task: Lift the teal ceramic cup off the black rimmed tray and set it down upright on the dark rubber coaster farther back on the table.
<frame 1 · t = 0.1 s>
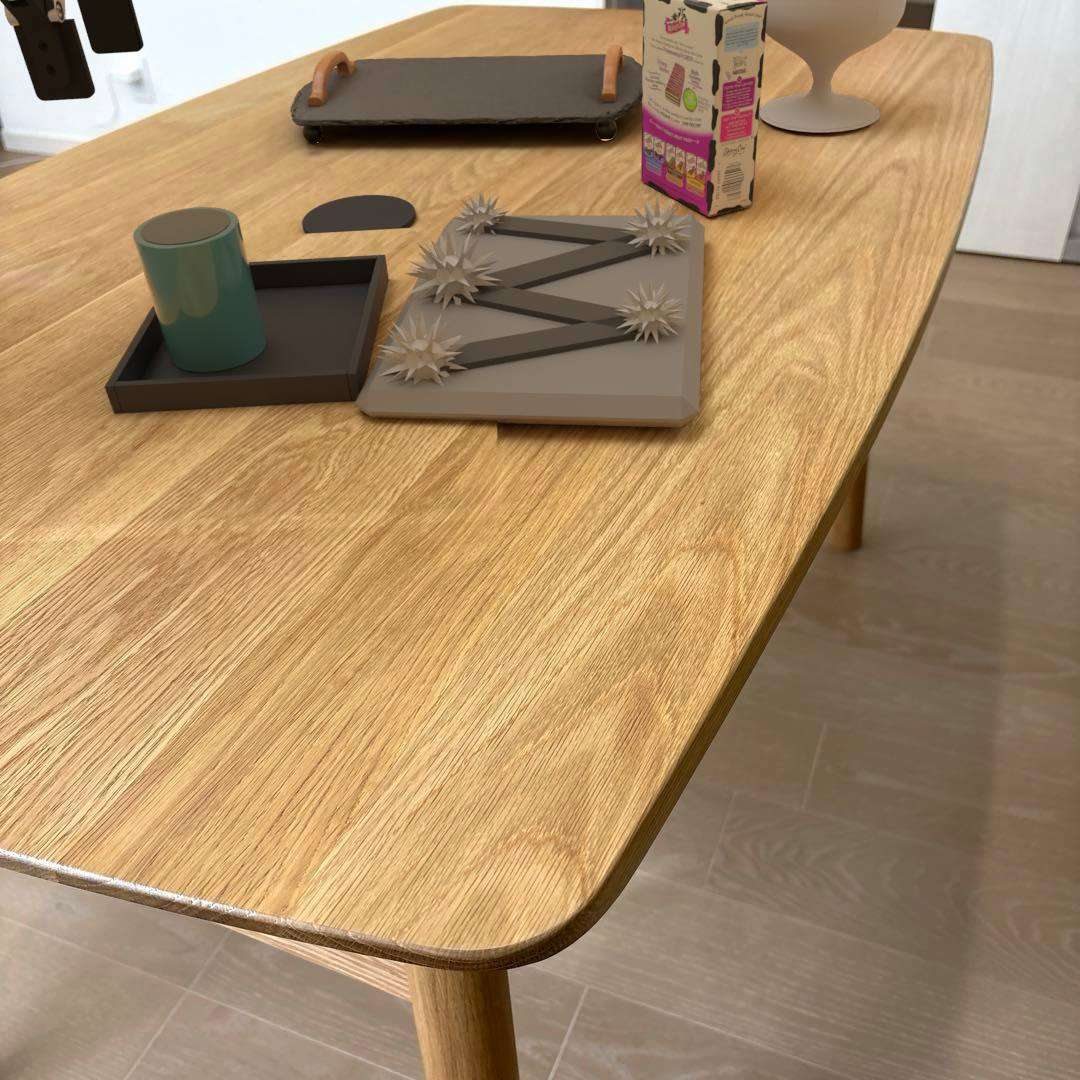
hand: (94, 73, 64), 20 cm above the table, tool pointing down, fingers open, 9 cm apart
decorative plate: (552, 325, 78), on the table
chalice: (818, 118, 110), on the table
tray: (266, 349, 77), on the table
candy bar box: (695, 195, 96), on the table
coaster: (359, 221, 95), on the table
cup: (218, 348, 76), point 1 cm above the table, touching tray
serving tray: (473, 114, 117), on the table
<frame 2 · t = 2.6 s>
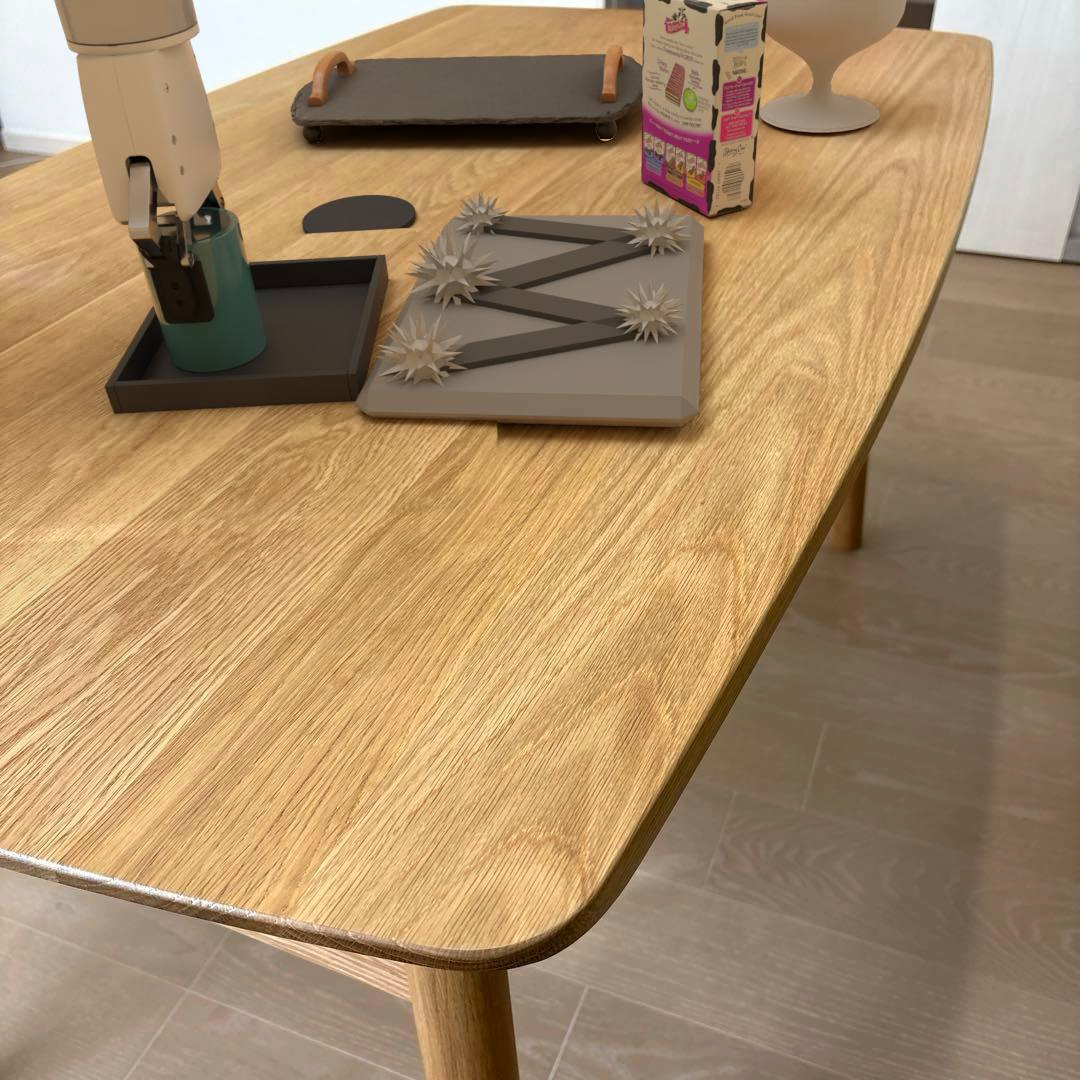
hand: (204, 293, 73), 5 cm above the table, tool pointing down, fingers closed on cup, 6 cm apart
cup: (218, 348, 76), point 1 cm above the table, touching gripper, tray
everything else where it was.
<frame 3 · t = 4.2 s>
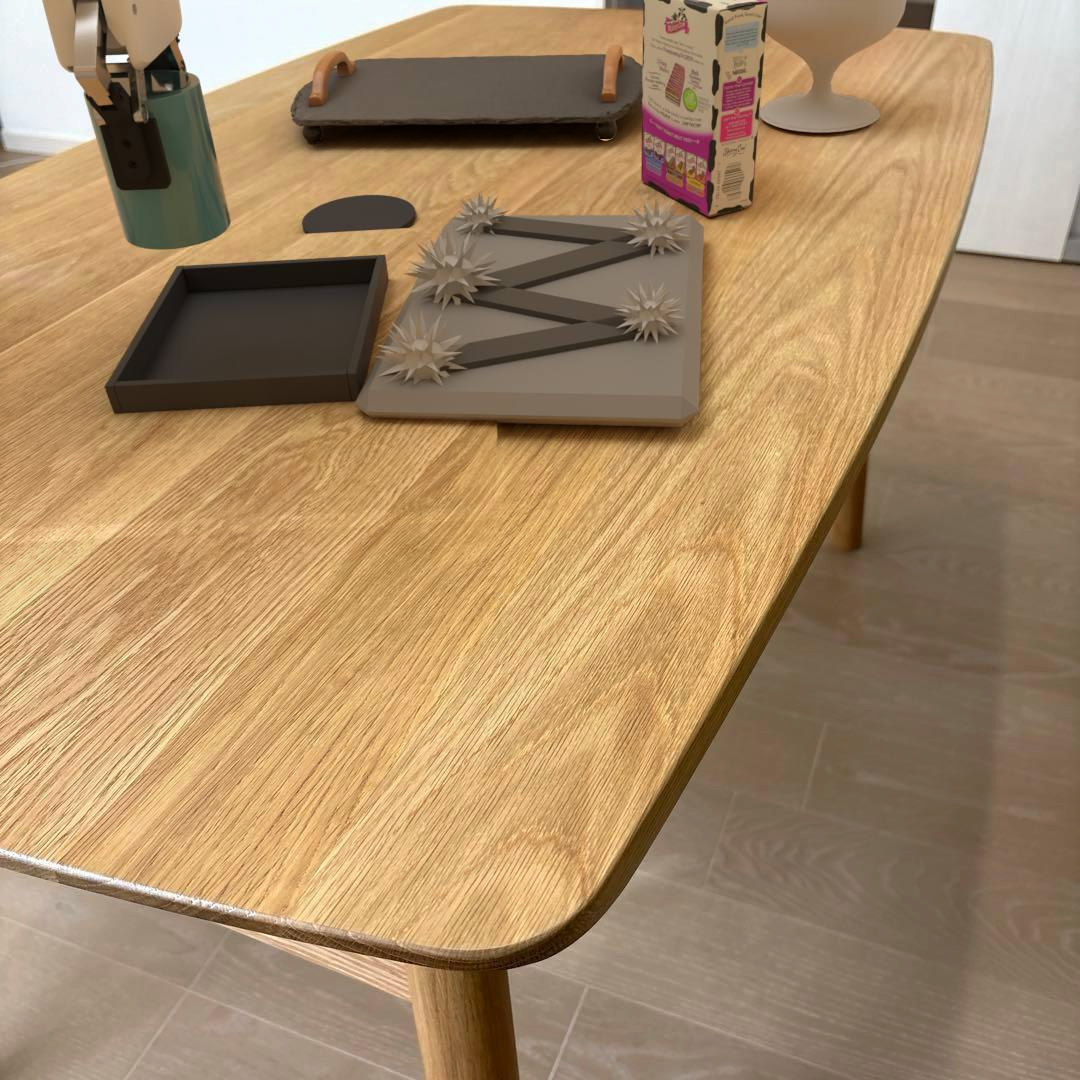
hand: (161, 163, 67), 14 cm above the table, tool pointing down, fingers closed on cup, 6 cm apart
cup: (178, 228, 70), point 10 cm above the table, touching gripper
everything else where it was.
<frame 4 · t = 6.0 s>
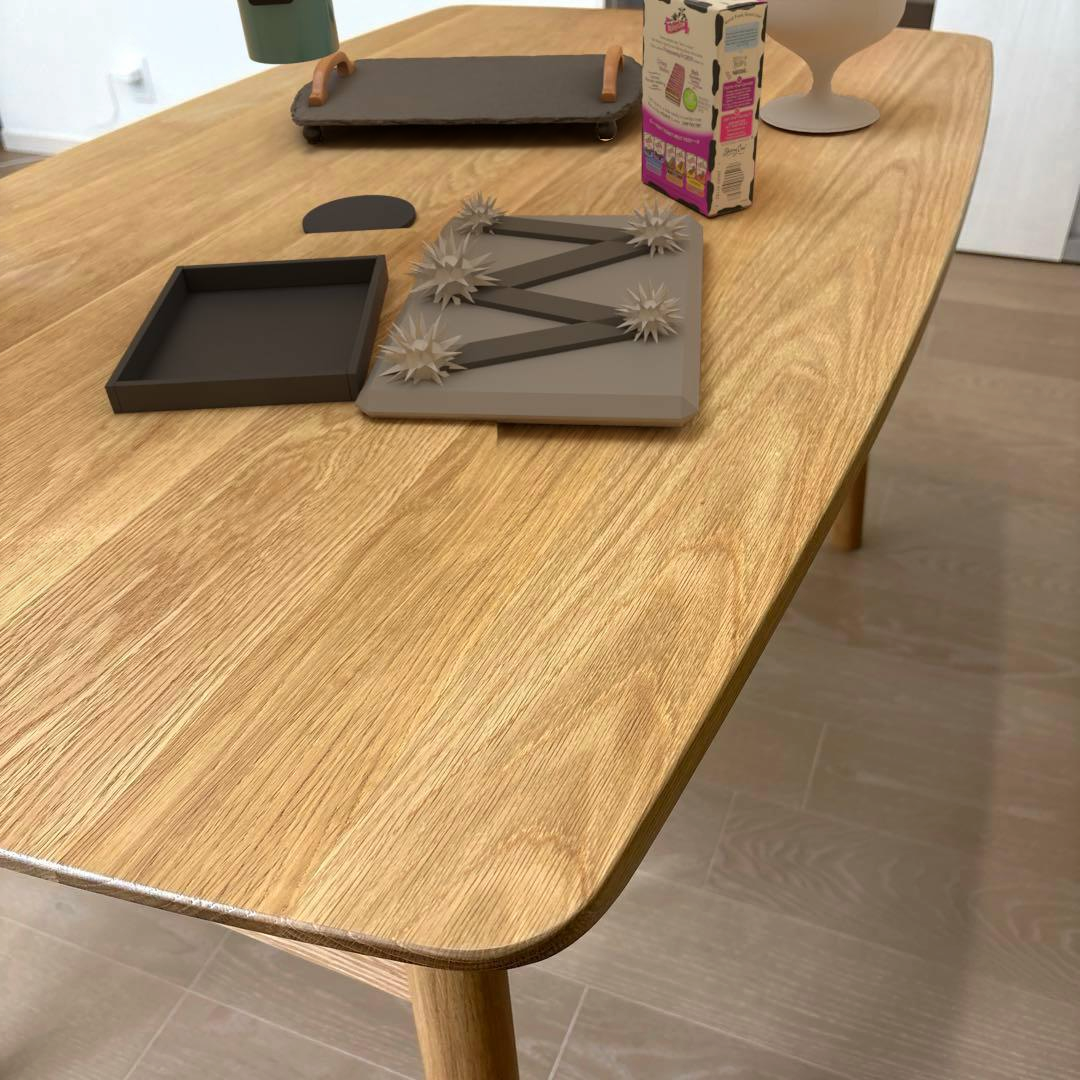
cup: (294, 51, 80), point 16 cm above the table, touching gripper
everything else where it was.
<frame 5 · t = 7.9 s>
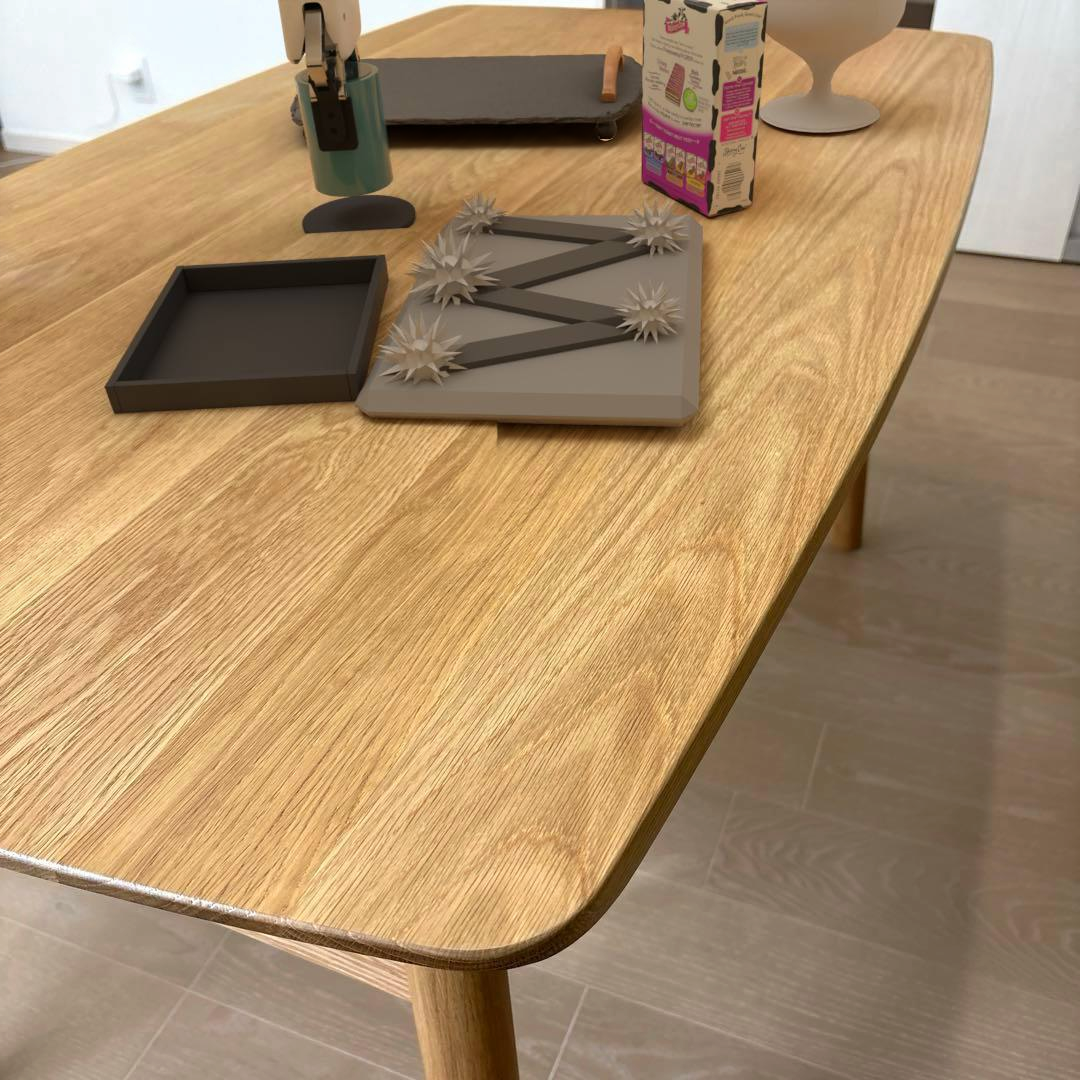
hand: (345, 132, 90), 8 cm above the table, tool pointing down, fingers closed on cup, 6 cm apart
cup: (354, 182, 93), point 3 cm above the table, touching gripper
everything else where it was.
when the fingers open (5 cm above the table, at t = 9.4 s): cup stays where it is, resting on coaster.
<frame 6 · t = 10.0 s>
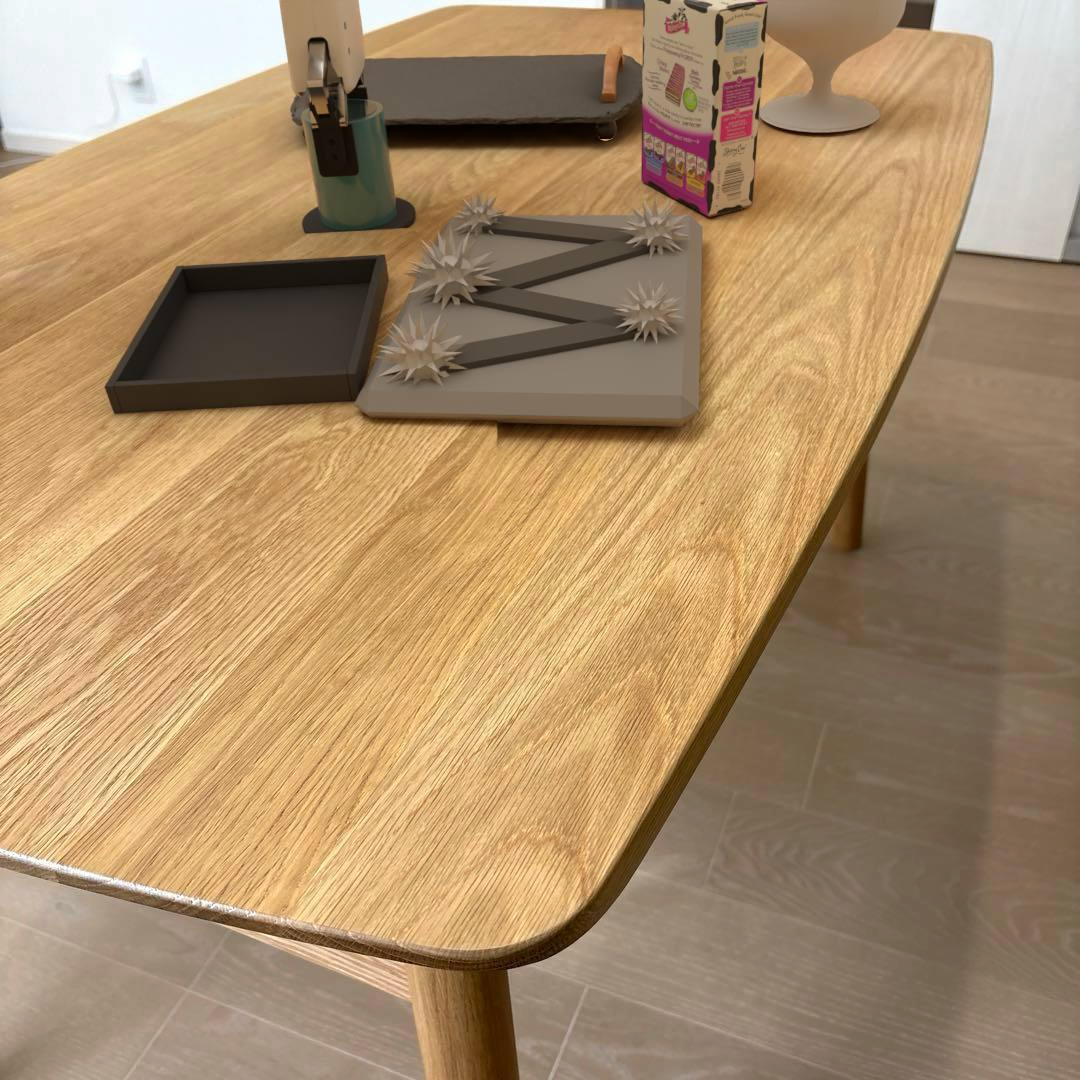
hand: (347, 154, 91), 6 cm above the table, tool pointing down, fingers open, 9 cm apart
cup: (359, 215, 94), resting on coaster
everything else where it was.
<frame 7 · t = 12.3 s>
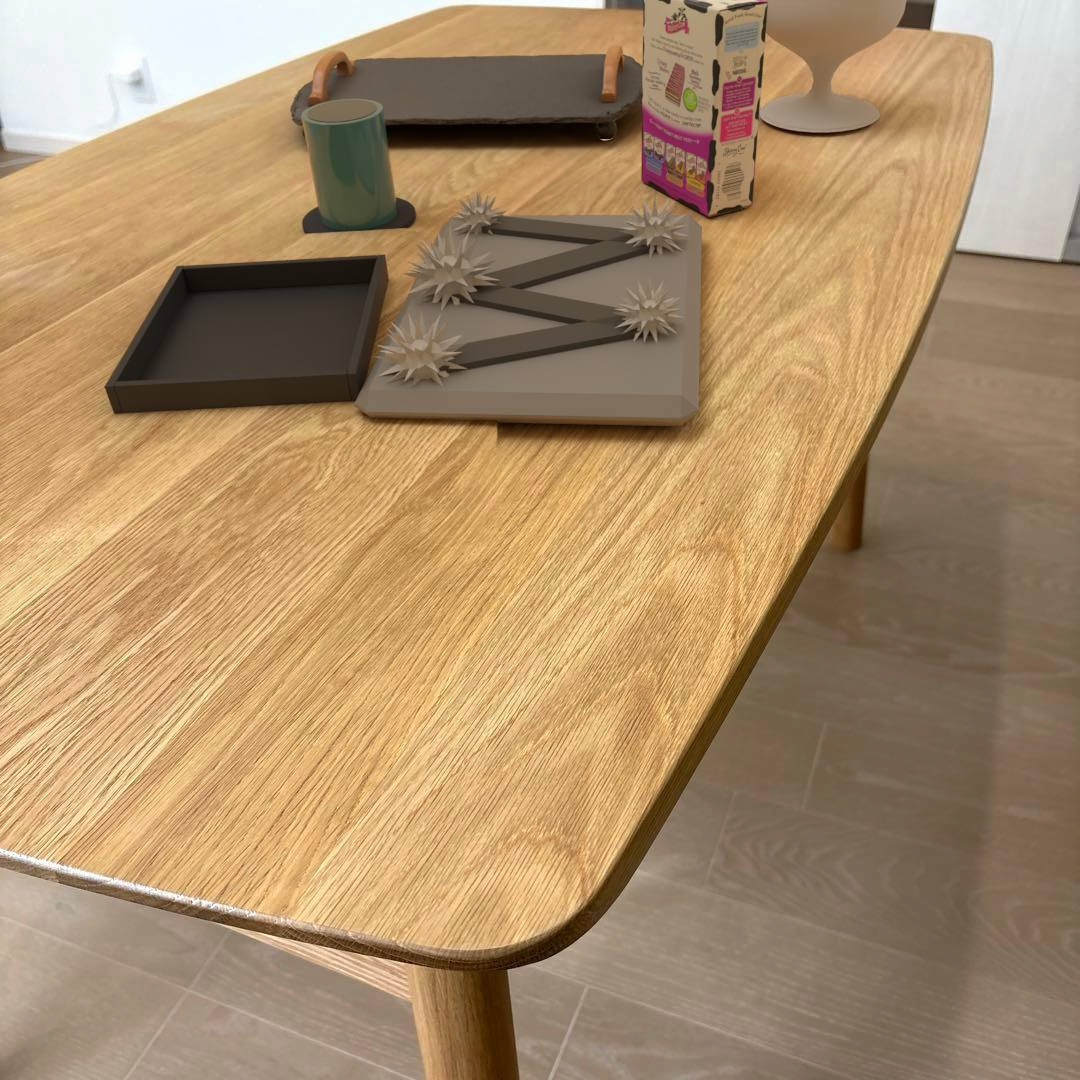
nothing on the table moved.
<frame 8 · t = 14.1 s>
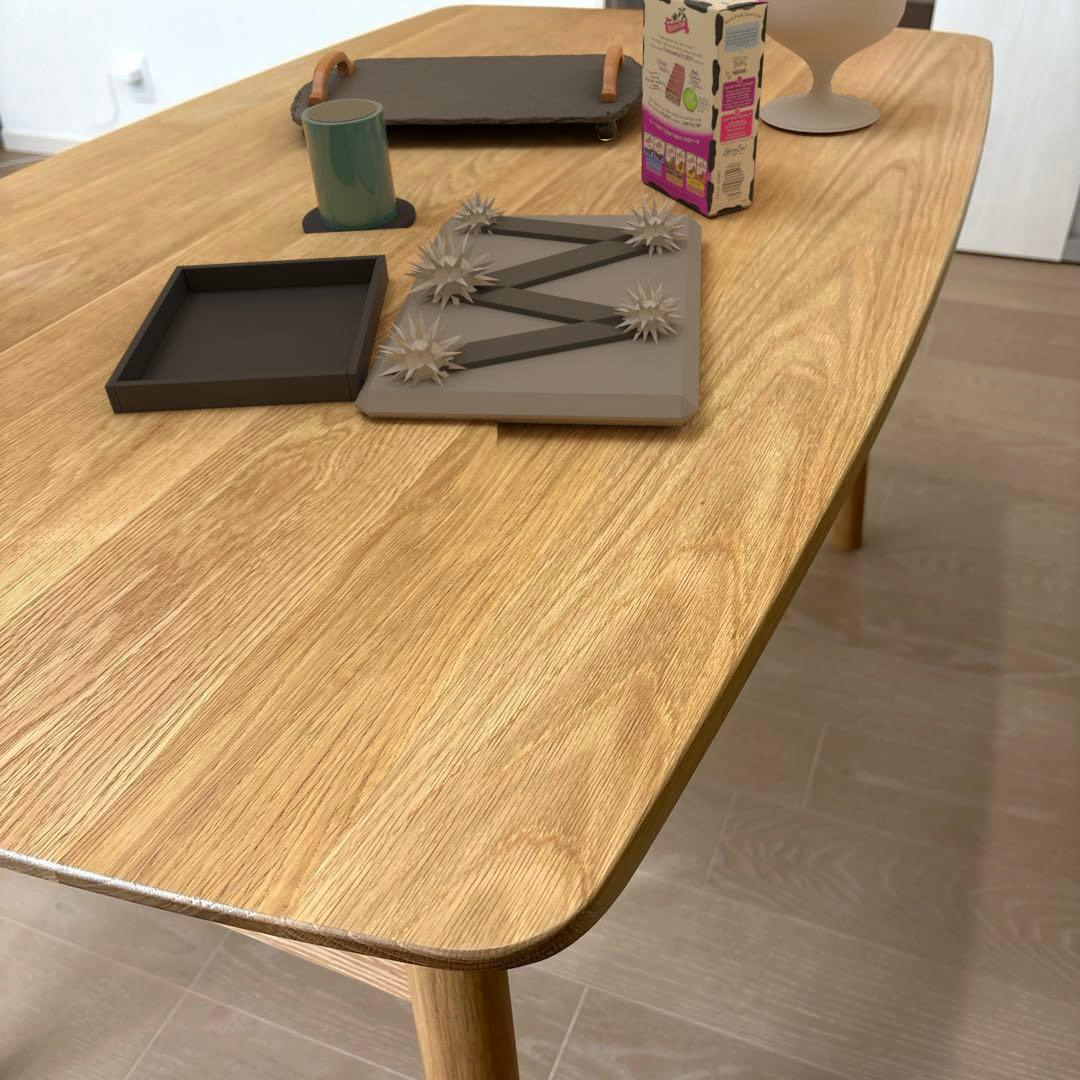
nothing on the table moved.
at the end: cup 0.0 cm off-centre on the coaster, point 0.5 cm above the coaster's base; cup tilted 0°; cup touching coaster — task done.
